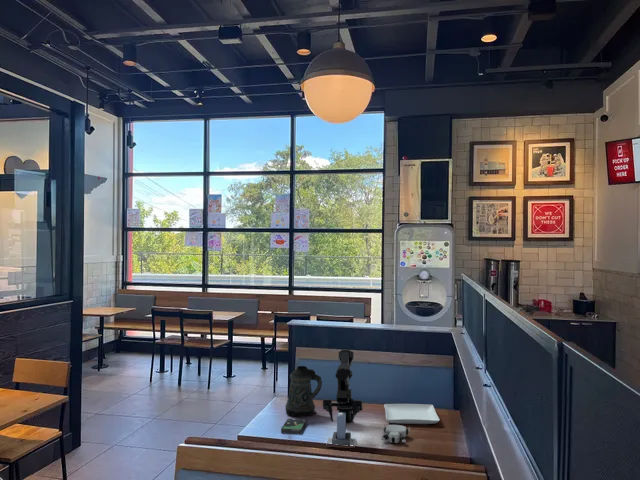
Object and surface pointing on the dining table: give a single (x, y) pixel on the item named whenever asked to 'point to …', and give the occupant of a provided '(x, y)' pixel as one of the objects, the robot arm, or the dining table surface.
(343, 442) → the frame
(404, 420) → the square plate
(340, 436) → the light blue tall block
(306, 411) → the beer stein
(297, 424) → the disk drive
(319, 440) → the dining table surface
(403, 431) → the robot toy
